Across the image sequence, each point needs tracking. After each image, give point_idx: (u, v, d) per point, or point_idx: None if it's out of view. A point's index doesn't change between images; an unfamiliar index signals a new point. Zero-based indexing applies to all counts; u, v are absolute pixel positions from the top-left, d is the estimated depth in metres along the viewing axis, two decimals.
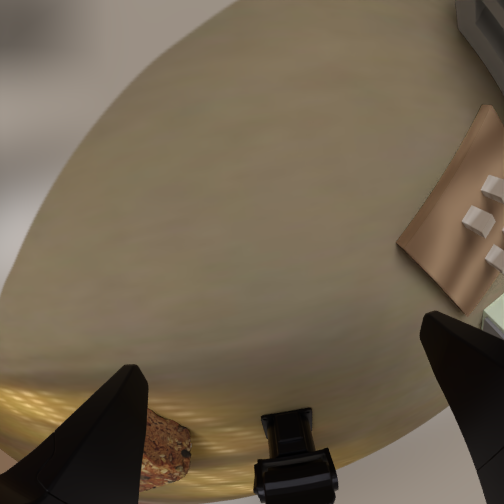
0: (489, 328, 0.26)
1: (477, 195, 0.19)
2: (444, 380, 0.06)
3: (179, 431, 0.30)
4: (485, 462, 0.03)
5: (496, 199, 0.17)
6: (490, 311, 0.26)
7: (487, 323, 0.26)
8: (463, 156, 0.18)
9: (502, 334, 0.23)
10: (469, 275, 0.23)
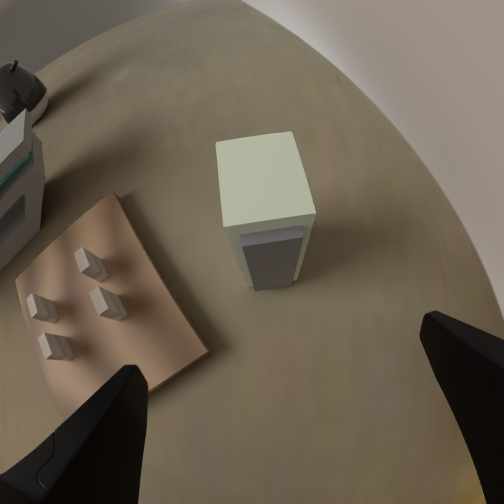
0: (263, 285, 0.20)
1: (55, 329, 0.20)
2: (444, 380, 0.06)
3: None
4: (486, 462, 0.03)
5: (43, 316, 0.19)
6: None
7: (257, 288, 0.20)
8: (31, 338, 0.20)
9: None
10: (129, 354, 0.19)
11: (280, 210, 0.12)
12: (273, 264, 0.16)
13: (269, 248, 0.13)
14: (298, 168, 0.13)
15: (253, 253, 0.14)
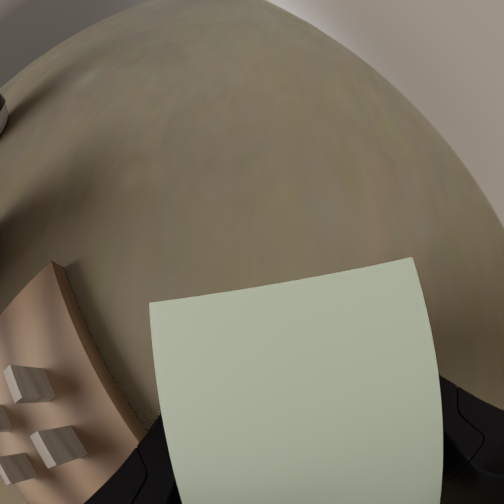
0: None
1: (12, 439, 0.10)
2: None
3: None
4: None
5: None
6: None
7: None
8: None
9: None
10: None
11: None
12: None
13: None
14: (430, 418, 0.03)
15: None
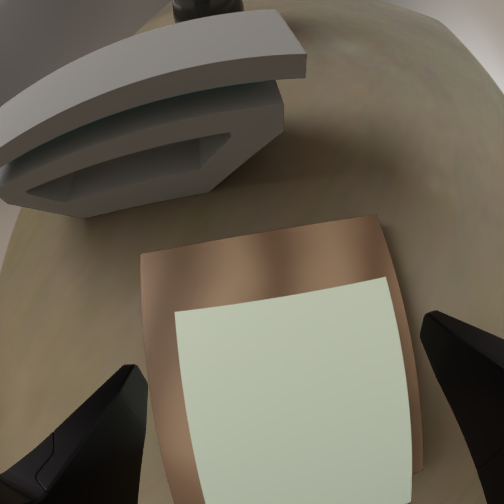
0: None
1: None
2: (444, 380, 0.06)
3: None
4: (486, 462, 0.03)
5: None
6: None
7: None
8: (148, 368, 0.15)
9: None
10: None
11: None
12: None
13: None
14: (398, 407, 0.04)
15: None
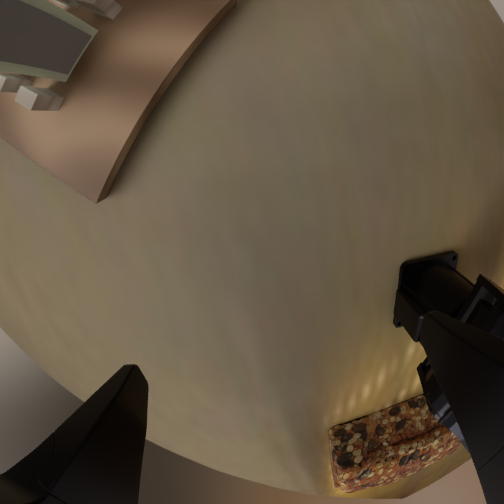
0: (61, 60, 0.10)
1: None
2: (444, 380, 0.06)
3: (329, 441, 0.29)
4: (485, 462, 0.03)
5: (13, 82, 0.10)
6: (52, 77, 0.11)
7: (62, 69, 0.10)
8: (6, 139, 0.13)
9: (26, 64, 0.08)
10: (138, 39, 0.12)
11: None
12: (23, 34, 0.06)
13: None
14: None
15: None
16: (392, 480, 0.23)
